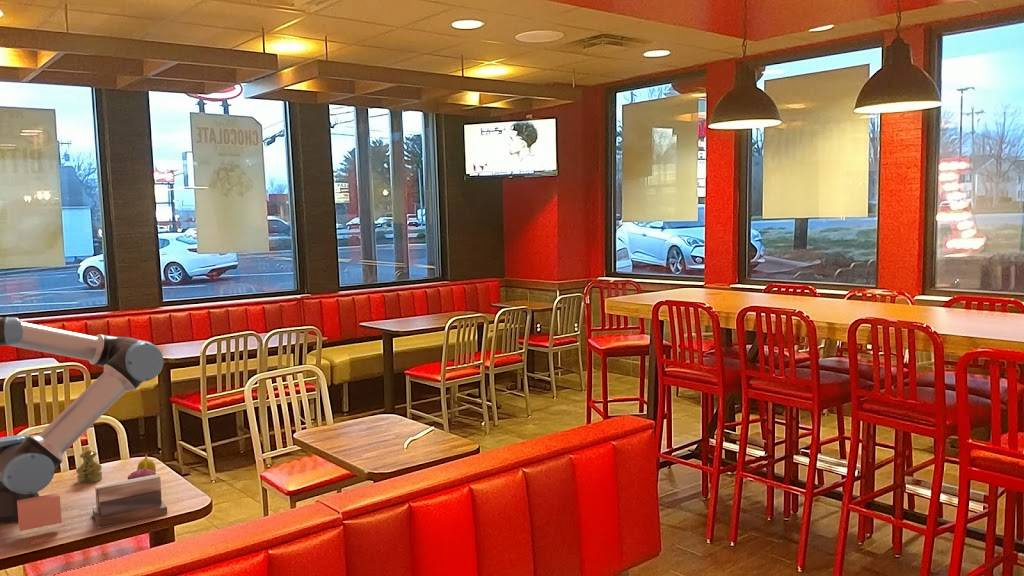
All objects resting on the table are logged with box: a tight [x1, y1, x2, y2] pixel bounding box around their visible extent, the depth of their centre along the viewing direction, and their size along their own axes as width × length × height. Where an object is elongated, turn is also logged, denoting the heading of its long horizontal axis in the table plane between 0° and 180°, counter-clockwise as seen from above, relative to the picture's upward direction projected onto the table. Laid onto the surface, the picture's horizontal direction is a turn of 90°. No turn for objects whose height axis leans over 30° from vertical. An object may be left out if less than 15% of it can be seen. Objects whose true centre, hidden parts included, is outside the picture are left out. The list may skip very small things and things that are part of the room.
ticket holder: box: [91, 473, 168, 529], centre depth 237 cm, size 12×18×10 cm, turn 125°
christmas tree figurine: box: [76, 449, 103, 485], centre depth 266 cm, size 7×7×10 cm
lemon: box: [136, 458, 157, 472], centre depth 264 cm, size 6×6×8 cm
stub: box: [17, 492, 62, 532], centre depth 223 cm, size 3×10×8 cm, turn 125°
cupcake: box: [127, 453, 157, 480], centre depth 255 cm, size 9×8×12 cm
